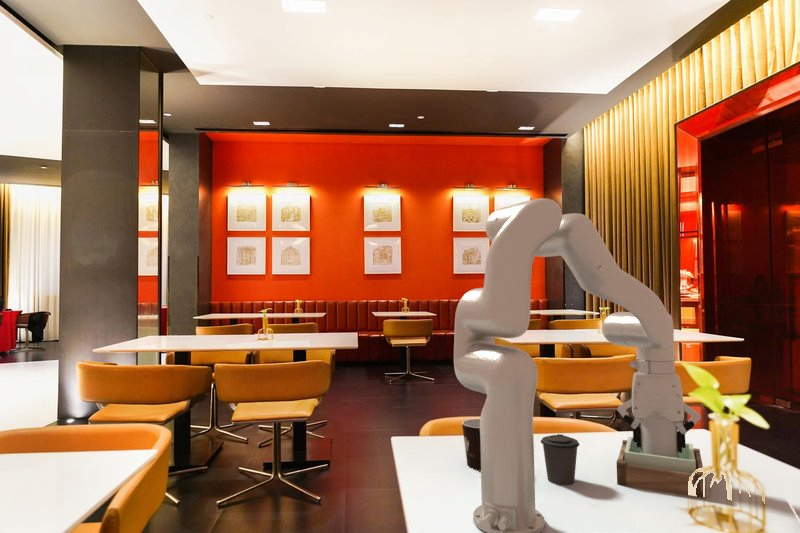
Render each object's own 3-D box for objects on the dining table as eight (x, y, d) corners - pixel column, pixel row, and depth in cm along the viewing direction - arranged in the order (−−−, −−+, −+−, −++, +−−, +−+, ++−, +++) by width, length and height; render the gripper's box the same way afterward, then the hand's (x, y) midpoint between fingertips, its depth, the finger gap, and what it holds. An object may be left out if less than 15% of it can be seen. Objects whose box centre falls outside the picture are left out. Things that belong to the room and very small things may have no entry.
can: (670, 458, 111) (667, 404, 112) (685, 469, 104) (683, 412, 105) (635, 457, 112) (633, 404, 113) (648, 468, 105) (646, 411, 105)
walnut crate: (706, 502, 96) (704, 474, 97) (617, 488, 104) (616, 462, 104) (700, 473, 112) (699, 449, 112) (623, 462, 120) (623, 439, 120)
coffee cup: (568, 476, 111) (567, 431, 112) (588, 489, 103) (586, 441, 104) (535, 478, 110) (534, 433, 110) (552, 492, 102) (551, 443, 102)
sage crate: (697, 492, 99) (695, 461, 99) (625, 481, 105) (624, 452, 106) (693, 471, 111) (692, 443, 111) (629, 462, 117) (628, 436, 117)
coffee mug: (464, 458, 124) (463, 418, 124) (498, 460, 122) (498, 419, 123) (460, 474, 112) (459, 430, 113) (498, 477, 111) (497, 432, 111)
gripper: (611, 367, 110) (614, 447, 109) (702, 372, 102) (706, 459, 101) (614, 363, 117) (617, 438, 116) (700, 367, 109) (704, 449, 107)
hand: (659, 447), depth 108 cm, fingers closed on can, 7 cm apart
